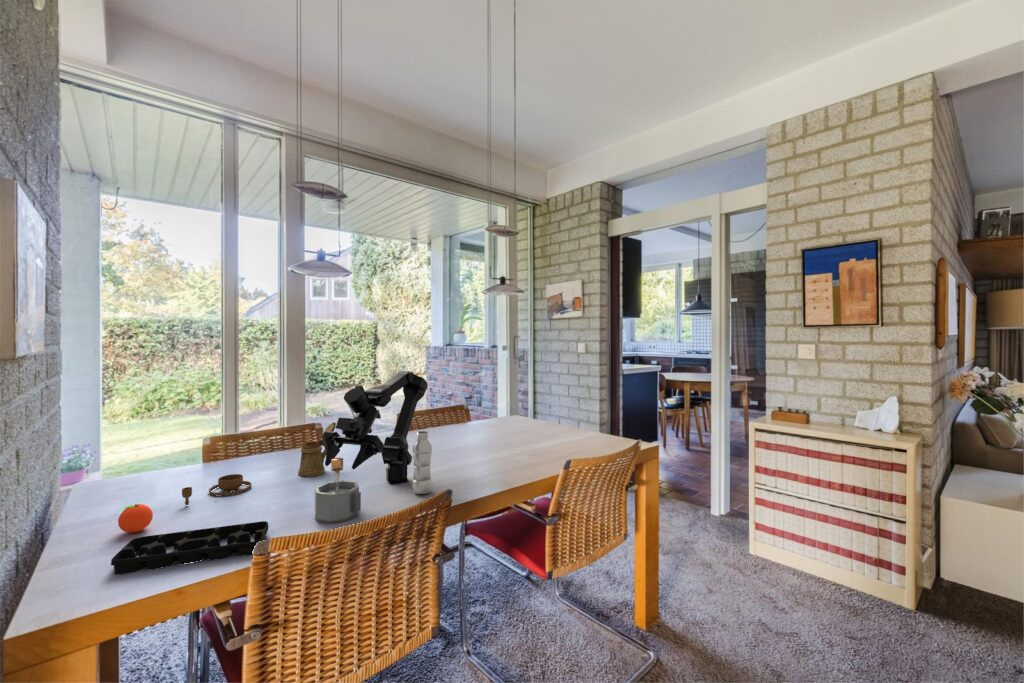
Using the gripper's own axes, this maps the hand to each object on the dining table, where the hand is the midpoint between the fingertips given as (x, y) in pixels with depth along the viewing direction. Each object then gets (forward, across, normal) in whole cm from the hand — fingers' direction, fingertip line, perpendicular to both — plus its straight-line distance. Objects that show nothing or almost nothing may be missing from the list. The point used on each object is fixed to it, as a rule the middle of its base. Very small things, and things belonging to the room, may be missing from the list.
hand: (339, 467), depth 127 cm
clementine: (+28, -43, -9) cm, 52 cm away
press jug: (+10, 0, +9) cm, 14 cm away
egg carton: (+31, -17, -10) cm, 37 cm away
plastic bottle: (-6, +14, +26) cm, 30 cm away
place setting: (+9, -49, +11) cm, 51 cm away
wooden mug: (-12, -34, +31) cm, 47 cm away
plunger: (+6, 0, +5) cm, 8 cm away
